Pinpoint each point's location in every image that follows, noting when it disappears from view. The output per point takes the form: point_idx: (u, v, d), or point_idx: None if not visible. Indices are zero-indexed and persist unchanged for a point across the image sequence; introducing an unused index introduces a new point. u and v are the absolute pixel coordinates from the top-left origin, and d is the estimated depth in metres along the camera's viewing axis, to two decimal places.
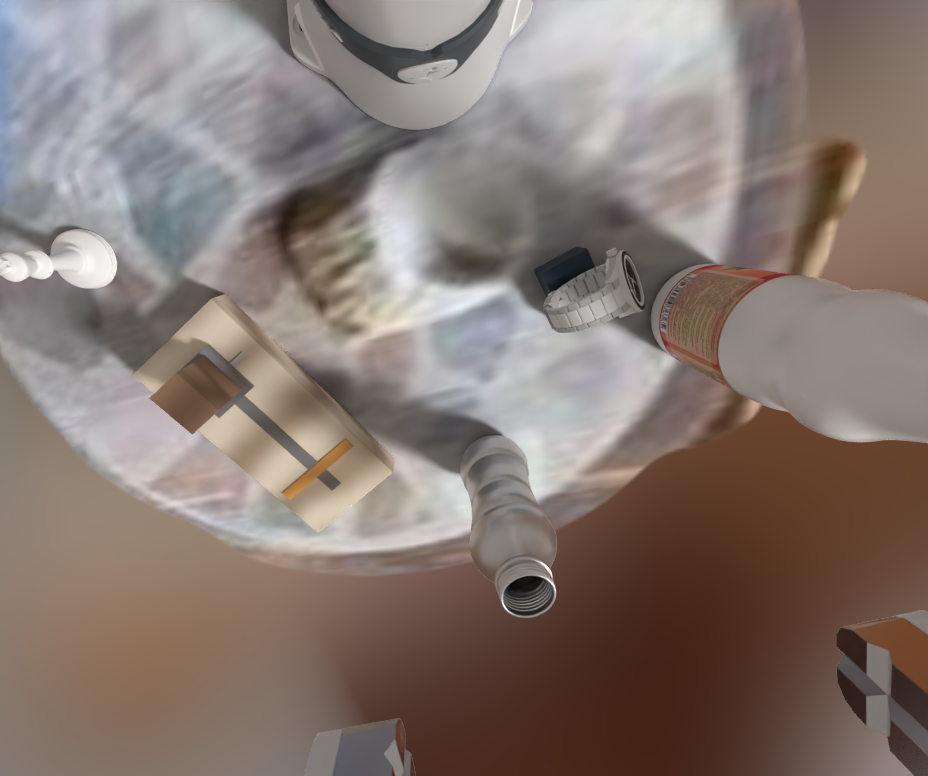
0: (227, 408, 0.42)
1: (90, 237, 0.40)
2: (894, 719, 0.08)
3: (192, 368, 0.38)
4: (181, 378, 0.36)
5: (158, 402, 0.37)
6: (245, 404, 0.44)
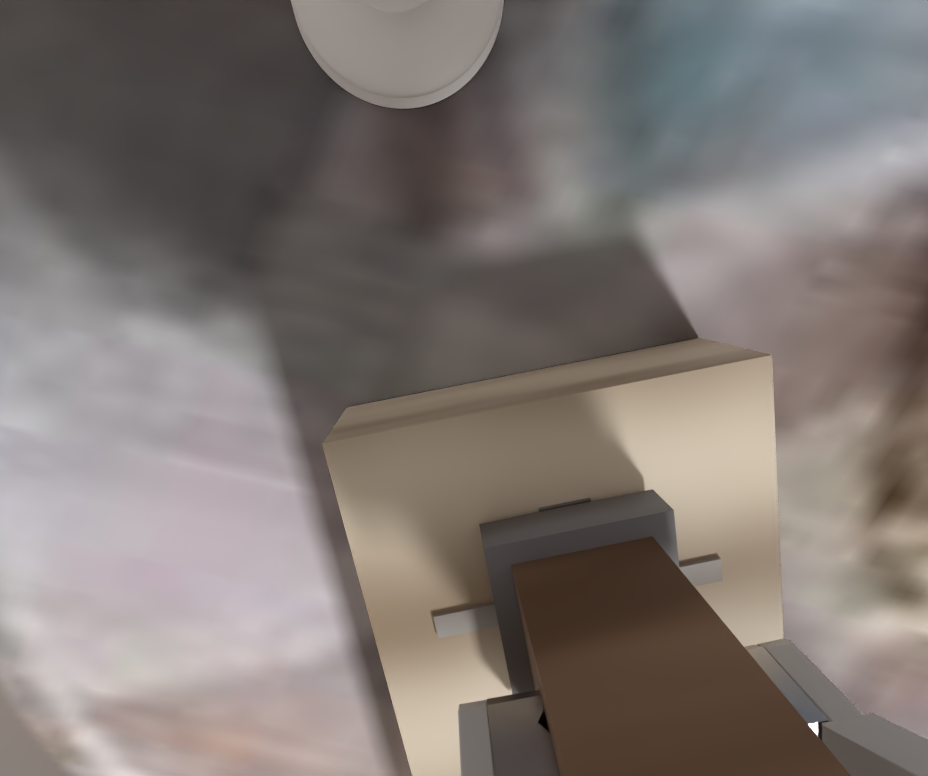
0: None
1: None
2: None
3: (736, 656, 0.07)
4: None
5: None
6: None
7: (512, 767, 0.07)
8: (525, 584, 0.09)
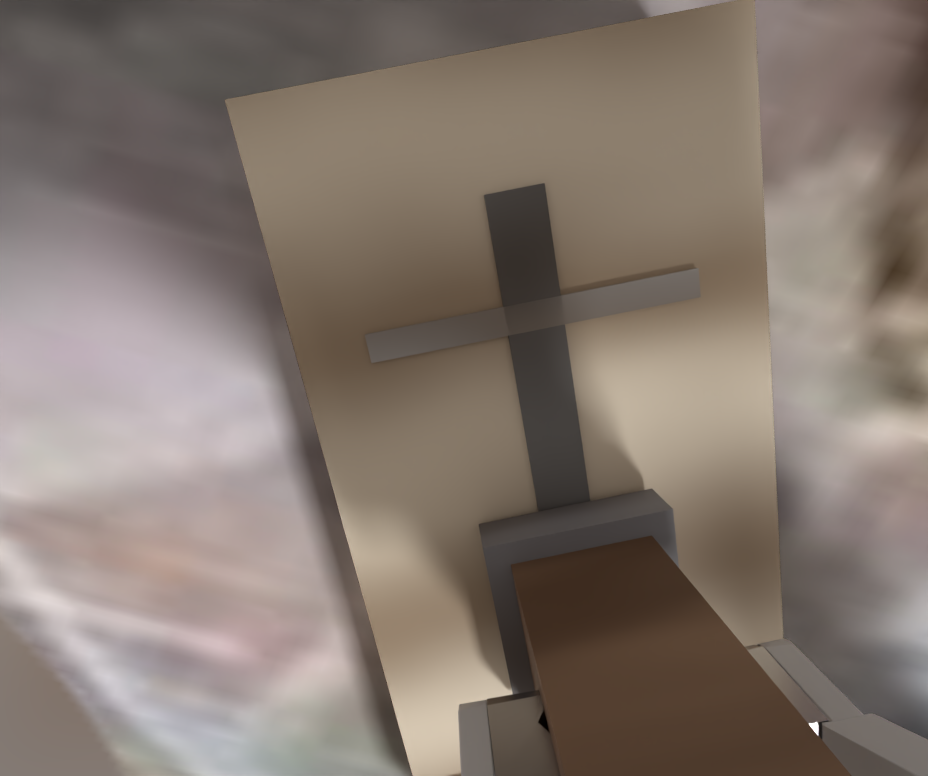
0: None
1: None
2: None
3: (736, 654, 0.07)
4: None
5: None
6: (553, 455, 0.11)
7: (512, 768, 0.07)
8: (524, 584, 0.09)
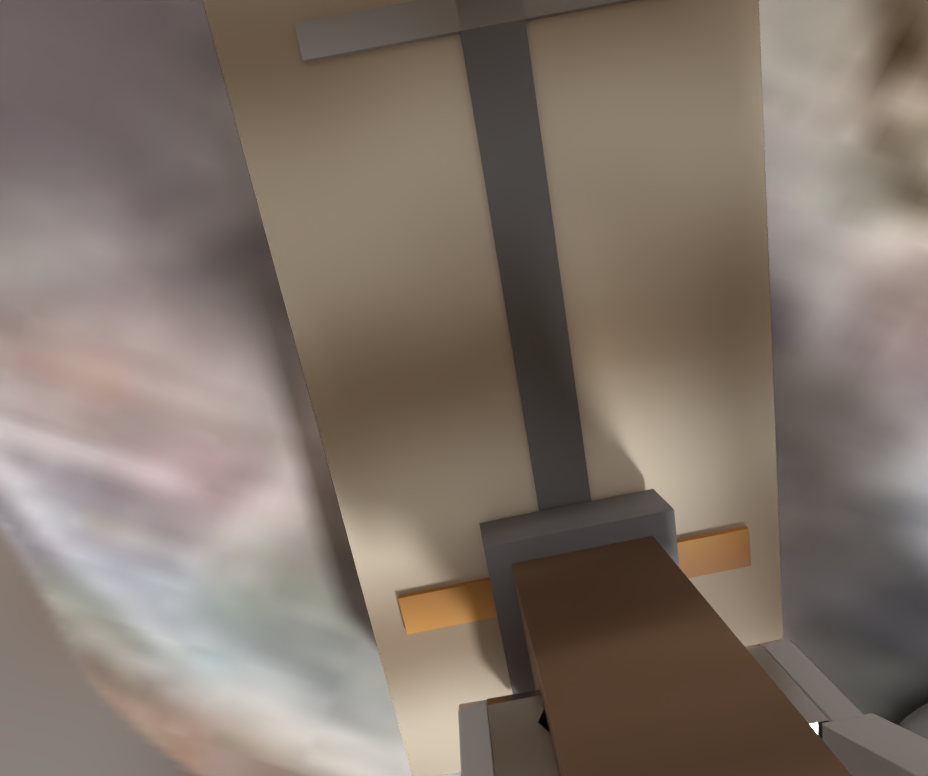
0: None
1: None
2: None
3: (737, 655, 0.07)
4: None
5: None
6: (515, 191, 0.10)
7: (512, 767, 0.07)
8: (525, 583, 0.09)
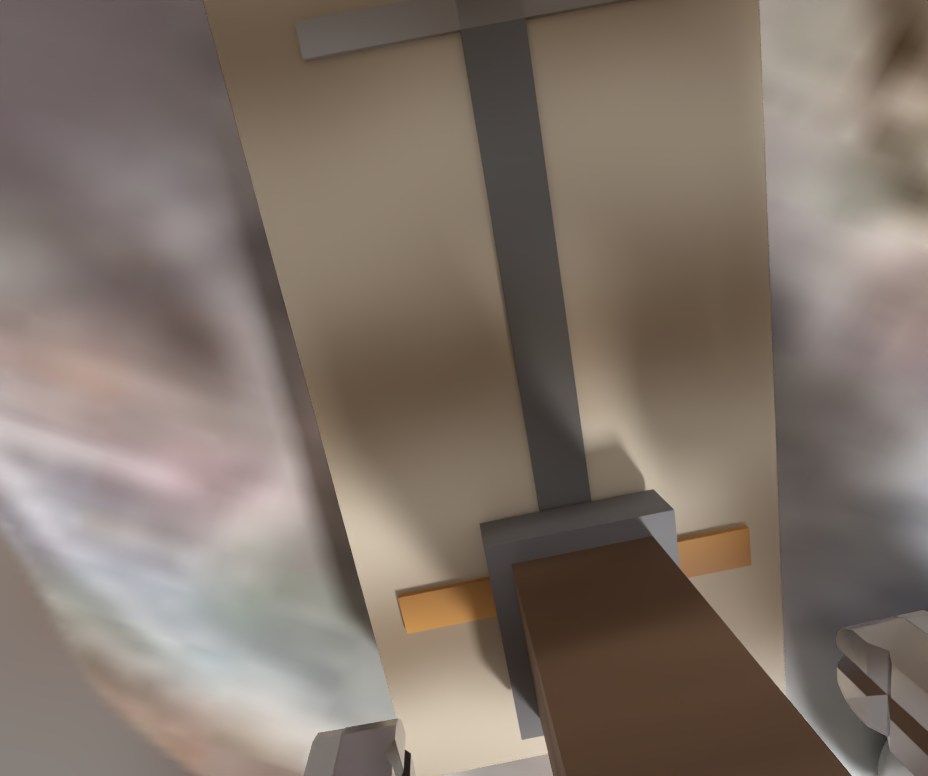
0: None
1: None
2: (894, 719, 0.08)
3: (736, 654, 0.07)
4: None
5: None
6: (515, 189, 0.10)
7: None
8: (525, 584, 0.09)
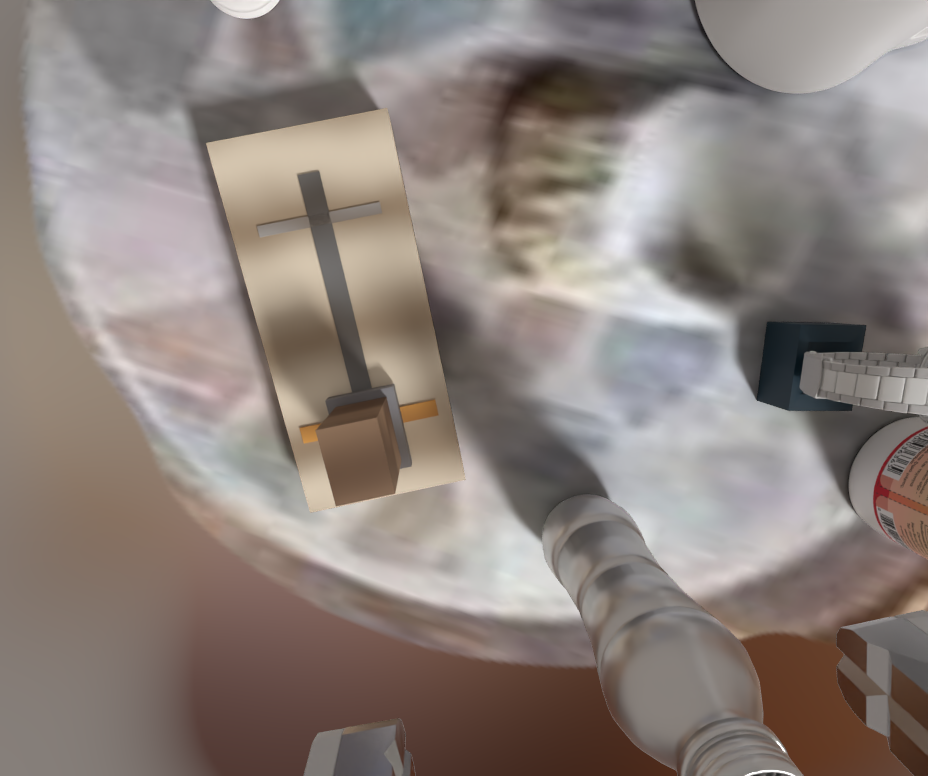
0: None
1: None
2: (894, 719, 0.08)
3: (382, 414, 0.26)
4: (377, 428, 0.24)
5: (323, 442, 0.24)
6: (333, 276, 0.28)
7: None
8: (336, 409, 0.28)
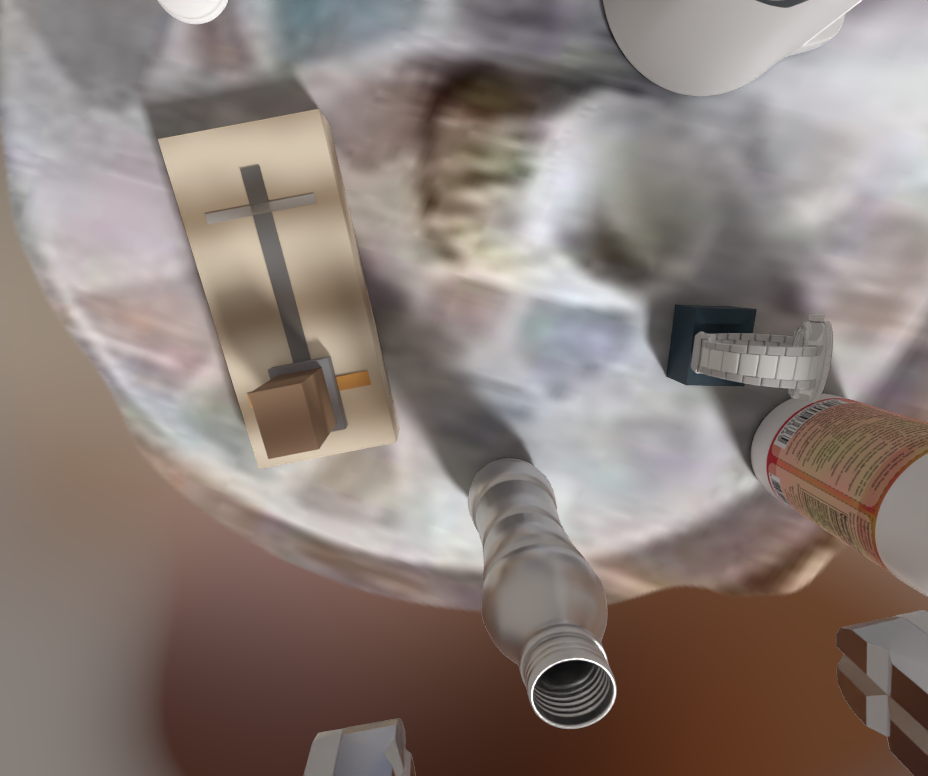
0: None
1: None
2: (894, 719, 0.08)
3: (312, 381, 0.29)
4: (302, 392, 0.27)
5: (255, 404, 0.27)
6: (274, 259, 0.32)
7: None
8: (276, 377, 0.31)
